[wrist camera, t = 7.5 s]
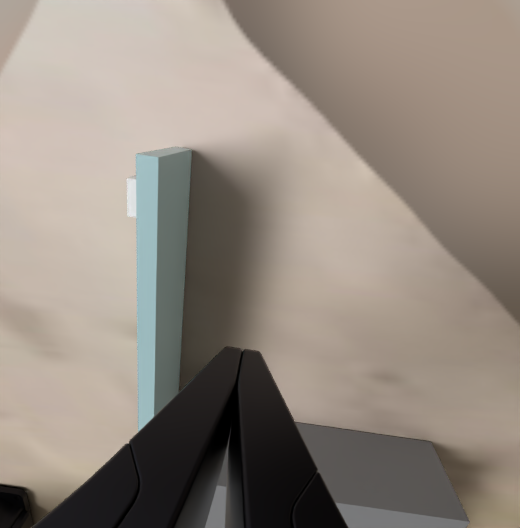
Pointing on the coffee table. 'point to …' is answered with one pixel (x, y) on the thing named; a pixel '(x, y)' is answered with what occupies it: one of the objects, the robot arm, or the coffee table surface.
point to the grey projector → (373, 480)
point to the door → (159, 271)
